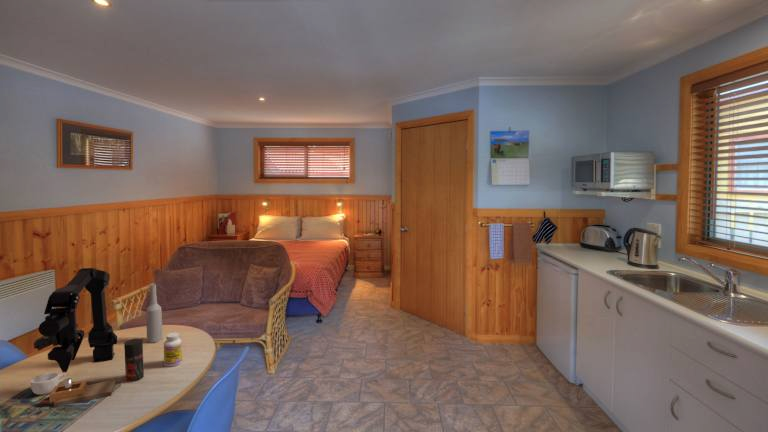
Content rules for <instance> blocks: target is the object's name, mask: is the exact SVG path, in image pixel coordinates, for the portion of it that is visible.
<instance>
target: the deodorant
mask: <svg viewBox="0 0 768 432" xmlns="http://www.w3.org/2000/svg"><path fill="white" fill-rule="evenodd" d="M123 348H124V365H125V366H124V368H125V369H124V370H125V381H126V382H127V383H134V382H138V381H140V380H141V379H143V378H144V377H145V376H144V374H145V373H144V372H145V371H144V346H143V339H142V338H132V339H129V340H127V341H124V347H123Z"/></svg>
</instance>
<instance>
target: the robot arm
mask: <svg viewBox="0 0 768 432" xmlns="http://www.w3.org/2000/svg"><path fill="white" fill-rule="evenodd" d="M110 279H111V277H110V274H109V273H108V272H107V271H105V270H100V269H97V268H94V267H82V268H79V270H78V272H77V274H75V275H74V277H73V278H72V279H70V281H69V282H68V283H67V284H66V285H65V286H61V287H59V288H57V289H56V290H54V291H52V293H51V294H50V295H49V297H48V299H47V303H46V305H45V310H44V312H43V314H44V315H46V316H45V317H44V319H45V320H43V321H42V322H41V323H40V324H39V326H38V332H39V334H40V335H41V337H39V338H36V340H35V341H34V342H33V348H34V349H36V350H37V351H42V350H44V349H45V348H47V347H49V346H50V347H51V346H52V349H50V350H49V352H48V353H47V360H49V361H55V362H56V363H57V365H58V367H59V369H60V370H61V372H62V373H64V374H65V373H67V372H68V370H69V367H70V365H71V362H73V361H74V360H76V356H77V354H78V352H79V349H80V347H81V345H82V343H83V341H84V337H85V331H84V330H83V329H77V328H78V327H79V323H77V315H76V314H77V313H76V311H77V310H76V309H77V308H78V305H79V301H80V298H81V296H80V293H81V292H82V290H83V289H85V290H86V291H87V292H88V293H89V294H90V304H91V316H92V327H91V329H90V330H89V332H88V335H87V341H88V345H89V348H91V349H92V348H93V349H92V359H93V363H99V362H105V361H110V360H113V358H114V356H115V353H116V352H114V345H116V344H118V336H117V334H116V333H115V332H114V331H113V330H114V329H113V326H112V325H111V324H110V323H109V322H108V318H107V305H106V303H107V301H106V292H105V290H106V289H107V288H108V285H110Z"/></svg>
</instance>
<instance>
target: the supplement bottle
mask: <svg viewBox="0 0 768 432" xmlns="http://www.w3.org/2000/svg"><path fill="white" fill-rule="evenodd" d="M179 336H180V334H179V332H170V333H168V334H166V337H165V338H166V340H165V341H164V343H163V361H164V363H163V364H164V366H165V367H169V368H170V367H176V366H178V365H180V364H181V363H182V361H183V352H182V349H183V347H182V342H183V341H182V339H181V338H180V337H179Z"/></svg>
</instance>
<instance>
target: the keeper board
mask: <svg viewBox="0 0 768 432" xmlns="http://www.w3.org/2000/svg"><path fill="white" fill-rule="evenodd" d="M116 380H117V379H112V380H107V381H101V382H97V383H92V384H87V388H86V390H85V392H84V394H83V395H81V396H76V397H71V398H66V399H61V400H56V401H53V408H56V407H62V406H66V405H71V404H77V403H81V402H86V401H92V400H95V399H101V398H105V397H111V396H112V395H113V392H114V389H115V387H116V383H117V382H116Z"/></svg>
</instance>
